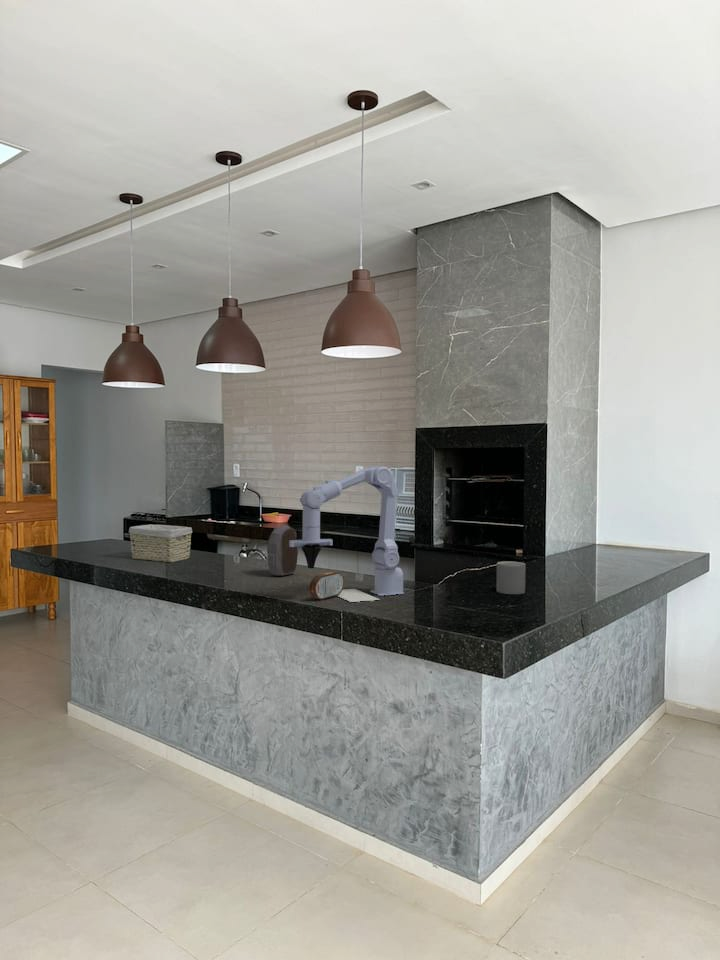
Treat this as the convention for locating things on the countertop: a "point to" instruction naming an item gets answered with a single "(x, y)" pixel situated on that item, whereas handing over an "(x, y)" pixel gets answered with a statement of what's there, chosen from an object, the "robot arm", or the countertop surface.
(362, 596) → the grey mat
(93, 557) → the countertop surface
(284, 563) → the soft grey pack
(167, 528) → the storage basket
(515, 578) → the coffee mug
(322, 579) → the tin
